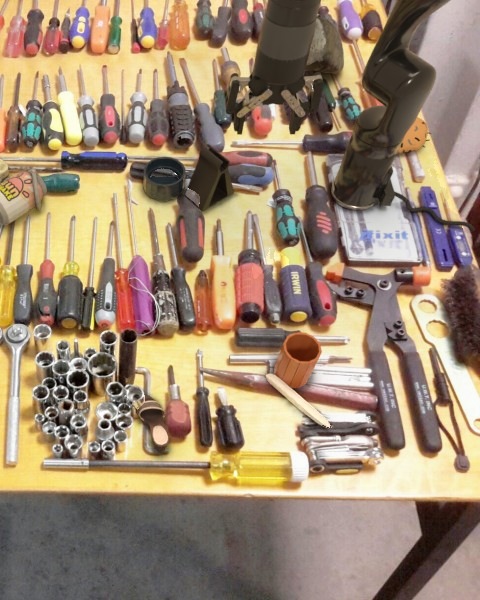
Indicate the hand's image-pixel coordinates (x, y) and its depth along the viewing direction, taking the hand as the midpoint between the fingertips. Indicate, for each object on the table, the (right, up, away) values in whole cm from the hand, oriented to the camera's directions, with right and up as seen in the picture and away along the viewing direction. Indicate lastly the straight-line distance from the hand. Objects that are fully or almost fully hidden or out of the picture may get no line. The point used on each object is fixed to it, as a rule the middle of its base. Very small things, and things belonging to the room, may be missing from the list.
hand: (265, 131), depth 104 cm
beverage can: (-49, -9, +29) cm, 58 cm away
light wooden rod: (+7, -46, +4) cm, 47 cm away
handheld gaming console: (-50, -1, +38) cm, 63 cm away
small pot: (+7, -41, +7) cm, 42 cm away
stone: (+22, +32, +45) cm, 60 cm away
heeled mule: (-18, -50, +4) cm, 53 cm away
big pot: (-12, -3, +36) cm, 38 cm away
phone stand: (-2, -5, +34) cm, 34 cm away
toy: (+42, +8, +39) cm, 58 cm away
